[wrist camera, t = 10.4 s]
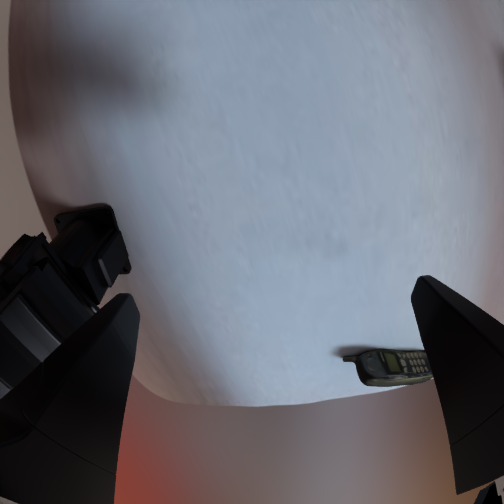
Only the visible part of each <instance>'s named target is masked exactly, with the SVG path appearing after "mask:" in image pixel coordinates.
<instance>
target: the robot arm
mask: <svg viewBox="0 0 504 504" xmlns="http://www.w3.org/2000/svg"><path fill="white" fill-rule="evenodd" d="M106 211H107V212H109V214H107V213H106ZM58 219H59V220H60V221H59V220H58ZM54 222H55V225H56V228H57V231H58V233H59V234H58V235H57V236H56V237H55V238H54V239H53V240H52V241H51V242H50V243H48V242H47V240H46V236H45V235H44V233H43V232H42V233H40V234H39V235H38V236H37V237H36V236H34V237H31V236H28V235H26V234H24V235H23V236H21V237H20V238H19V239H18V240H17V241H16V242H15V243H14V244H13V246H12V247H11V248H10V249H9V250H8V251H7V252H6V253H5V255H4V256H3V257H2V258H1V259H0V504H114V493H115V482H116V470H117V461H118V453H119V445H120V438H121V431H122V425H123V418H124V413H125V406H126V401H127V396H128V391H129V386H130V381H131V376H132V372H133V367H134V362H135V355H136V346H137V338H138V330H139V323H140V313H139V310H138V308H137V306H136V303H135V301H134V299H133V296H132V295H131V294H129V293H119V294H117V295H116V296H115V297H114V298H112V299H111V300H110V301H109V302H108V303H107V304H105V305H104V306H103V307H102V308H101V309H99V307H98V306H97V305H99V304H100V302H101V300H102V298H103V296H104V294H105V292H106V290H107V289H108V287H112V285H113V284H114V282H115V280H116V278H117V276H118V274H129V273H130V271H131V265H130V262H129V259H128V252H127V249H126V246H125V243H124V240H123V237H122V234H121V231H120V230H119V228H118V225H117V221H116V218H115V214H114V211H113V209H112V208H111V207H109V206H104V207H98V208H91V209H85V210H79V211H73V212H67V213H61V214H57V215H56V216H55V217H54ZM124 267H125V268H127V269H125V268H124ZM411 303H412V307H413V310H414V314H415V317H416V321H417V325H418V329H419V333H420V336H421V340H422V343H423V346H424V349H425V352H426V355H427V358H428V361H429V365H430V368H431V371H432V374H433V378H434V381H435V384H436V388H437V391H438V395H439V399H440V403H441V407H442V411H443V415H444V419H445V424H446V429H447V433H448V438H449V444H450V450H451V456H452V462H453V470H454V478H455V487H456V493H457V495H458V494H461V493H464V492H467V491H469V490H472V489H475V488H477V487H480V486H482V485H484V484H487V483H489V482H491V481H493V480H495V481H494V482H492V483H491V484H489V485H488V486H486V487H485V488H483V489H482V490H480V492H479V494H478V496H477V498H476V501H475V503H474V504H504V325H503V324H502V323H500V322H499V321H497V320H496V319H495V318H493V317H492V316H490V315H489V314H488V313H486V312H485V311H483V310H482V309H481V308H479V307H478V306H476V305H475V304H473V303H472V302H470V301H469V300H467V299H466V298H464V297H463V296H461V295H460V294H458V293H457V292H455V291H454V290H452V289H451V288H449V287H448V286H446V285H445V284H443V283H442V282H440V281H438V280H437V279H435V278H434V277H432V276H430V275H425V276H420V277H419V278H418V279H417V281H416V284H415V287H414V289H413V292H412V295H411Z"/></svg>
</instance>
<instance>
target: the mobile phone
mask: <svg viewBox="0 0 504 504" xmlns="http://www.w3.org/2000/svg"><path fill="white" fill-rule="evenodd" d="M343 361H344V362H353V363H355V365H356V369H357V373H358V376H359V379H360V381H361V382H362V383H363V384H364V385H366V386H377V387H390V386H400V385H413V384H418V383H423V382H426V381H428V380H430V379H431V378H433V374H432V371H431V368H430V365H429V361H428V358H427V355H426V352H425V351H395V350H387V349H383V350H374V351H371V352H366V353H363V354H362V355H361V356H359V357H344V358H343Z"/></svg>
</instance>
